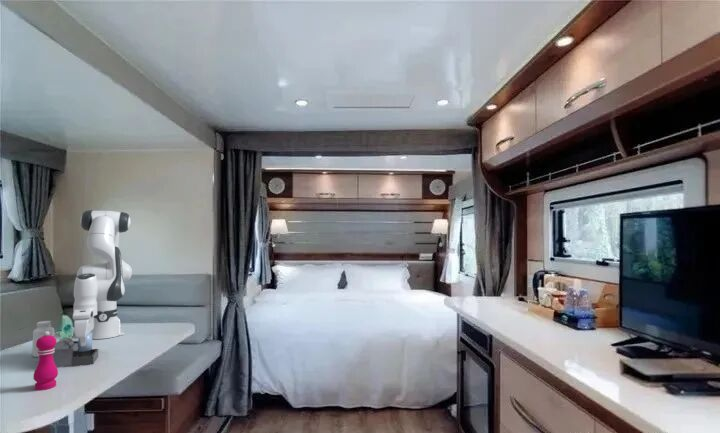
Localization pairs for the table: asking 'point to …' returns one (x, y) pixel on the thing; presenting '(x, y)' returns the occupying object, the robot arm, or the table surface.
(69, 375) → the table surface
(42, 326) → the pill bottle
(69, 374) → the table surface
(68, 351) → the dark grey piece
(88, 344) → the light blue bottle
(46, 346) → the pepper mill
